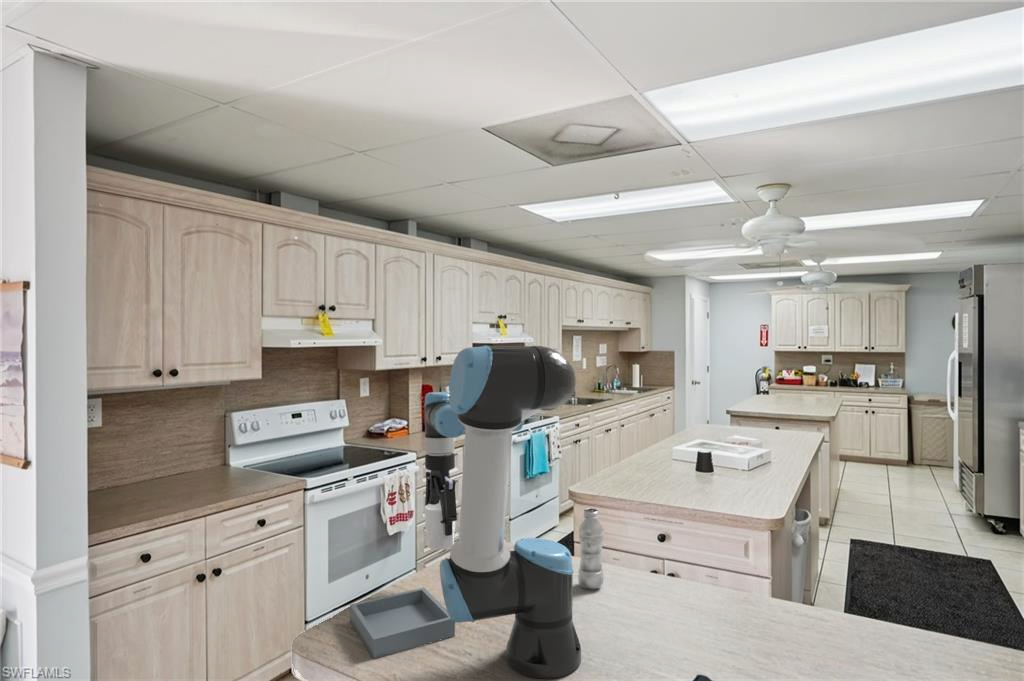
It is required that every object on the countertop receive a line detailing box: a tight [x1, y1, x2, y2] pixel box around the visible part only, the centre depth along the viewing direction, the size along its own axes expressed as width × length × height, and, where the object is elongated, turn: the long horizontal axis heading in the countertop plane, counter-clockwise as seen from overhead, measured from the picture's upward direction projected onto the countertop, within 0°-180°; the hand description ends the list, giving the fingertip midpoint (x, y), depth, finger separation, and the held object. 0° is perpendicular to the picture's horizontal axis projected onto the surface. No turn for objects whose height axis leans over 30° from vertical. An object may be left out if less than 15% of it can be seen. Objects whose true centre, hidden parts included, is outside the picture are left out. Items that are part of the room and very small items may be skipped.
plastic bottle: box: [577, 508, 605, 590], centre depth 153 cm, size 6×7×20 cm
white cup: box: [424, 501, 456, 551], centre depth 150 cm, size 8×8×10 cm
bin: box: [349, 587, 456, 660], centre depth 132 cm, size 18×18×4 cm
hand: (440, 542), depth 150 cm, fingers closed on white cup, 7 cm apart
